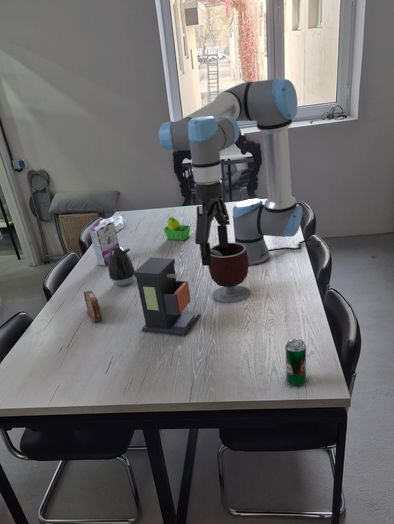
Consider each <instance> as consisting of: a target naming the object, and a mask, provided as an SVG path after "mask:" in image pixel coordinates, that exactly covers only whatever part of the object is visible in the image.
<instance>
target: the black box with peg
mask: <svg viewBox="0 0 394 524" xmlns="http://www.w3.org/2000/svg"><path fill="white" fill-rule="evenodd" d="M175 264H176V261H175V258H171V257H169V258H167V257H149V258H148V259H147V260H146V261H145V262H144V263H143V264H141V265H140V266H139V267H138V268H137V269H136V270H135V272H134V278H135V279H136V283H137V289H138V293H139V298H140V299H139V300H140V303H141V309H142V313H143V318H144V323H145V324H144V326H142V327H141V328H142V329H141V330H142V332H146V333H155V334H156V333H157V334H164V335H165V334H166V335H173V336H174V335H175V336H185V335H186V334H187V332H188V331H189V330H190V329H191V327H192V326H193V325H194V324H195V322H196V321H197V320H198V318H199V317H200V313H199V312H192V311H185V310H183V311H182V312H181V313H180V314H179V313H178V307H177V300H176V295H174V293H175V292H176V291H177V290H178V288H179V287H180V286H181V285H182V284H183V283H187V284H188V291H189V298H190V302H191V295H190V294H191V293H190V287H189V281H188V280H177V278H178V277H177V276H178V275H177V274H176V269H175Z"/></svg>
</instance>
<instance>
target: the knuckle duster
mask: <svg viewBox="0 0 394 524" xmlns="http://www.w3.org/2000/svg"><path fill="white" fill-rule="evenodd" d="M105 221H113V222H114V226H115V230H116V233H118V232H119V231H120V230H122V229H123V228H124V226H125V223H126V222H127V220H126V219H125V220H124V218H123V217H122V215H113V216H110V217H108V218H103V219H101V220H100V221H99V222H98V224H97V225H99V224H101V223H103V222H105Z"/></svg>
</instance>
